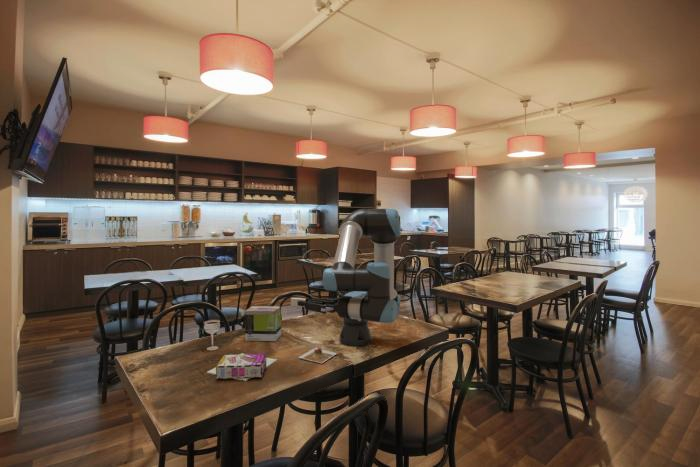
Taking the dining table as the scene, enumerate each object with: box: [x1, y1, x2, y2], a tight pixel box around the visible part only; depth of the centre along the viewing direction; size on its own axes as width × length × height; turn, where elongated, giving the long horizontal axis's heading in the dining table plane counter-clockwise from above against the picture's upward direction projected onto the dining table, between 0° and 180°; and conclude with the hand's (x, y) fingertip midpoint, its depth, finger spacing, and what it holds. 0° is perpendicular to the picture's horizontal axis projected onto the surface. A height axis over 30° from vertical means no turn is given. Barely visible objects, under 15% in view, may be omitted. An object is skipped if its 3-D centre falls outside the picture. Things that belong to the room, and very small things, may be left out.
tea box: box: [244, 305, 282, 342], centre depth 174 cm, size 15×10×15 cm, turn 84°
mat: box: [206, 352, 278, 382], centre depth 141 cm, size 18×20×1 cm
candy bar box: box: [215, 353, 267, 380], centre depth 135 cm, size 11×5×16 cm
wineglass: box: [203, 319, 221, 351], centre depth 161 cm, size 7×7×12 cm
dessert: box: [297, 346, 338, 365], centre depth 151 cm, size 12×12×5 cm
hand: (291, 301), depth 131 cm, fingers closed
